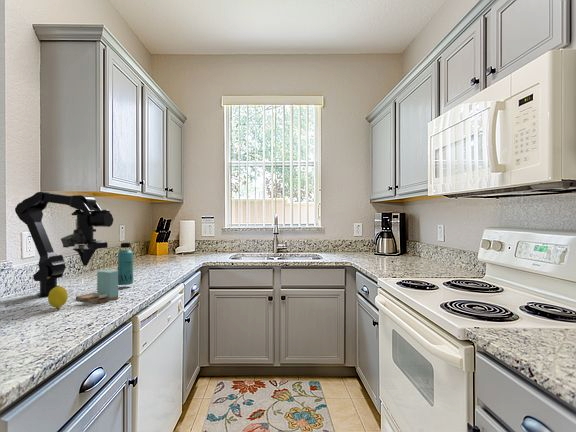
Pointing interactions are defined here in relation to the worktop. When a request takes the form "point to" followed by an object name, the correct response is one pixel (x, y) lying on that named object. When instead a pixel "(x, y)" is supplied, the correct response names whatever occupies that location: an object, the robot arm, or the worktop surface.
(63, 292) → the lemon
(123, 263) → the beverage bottle
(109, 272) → the fixed leg
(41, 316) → the worktop surface
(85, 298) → the board
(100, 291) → the block
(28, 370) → the worktop surface
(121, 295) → the worktop surface
